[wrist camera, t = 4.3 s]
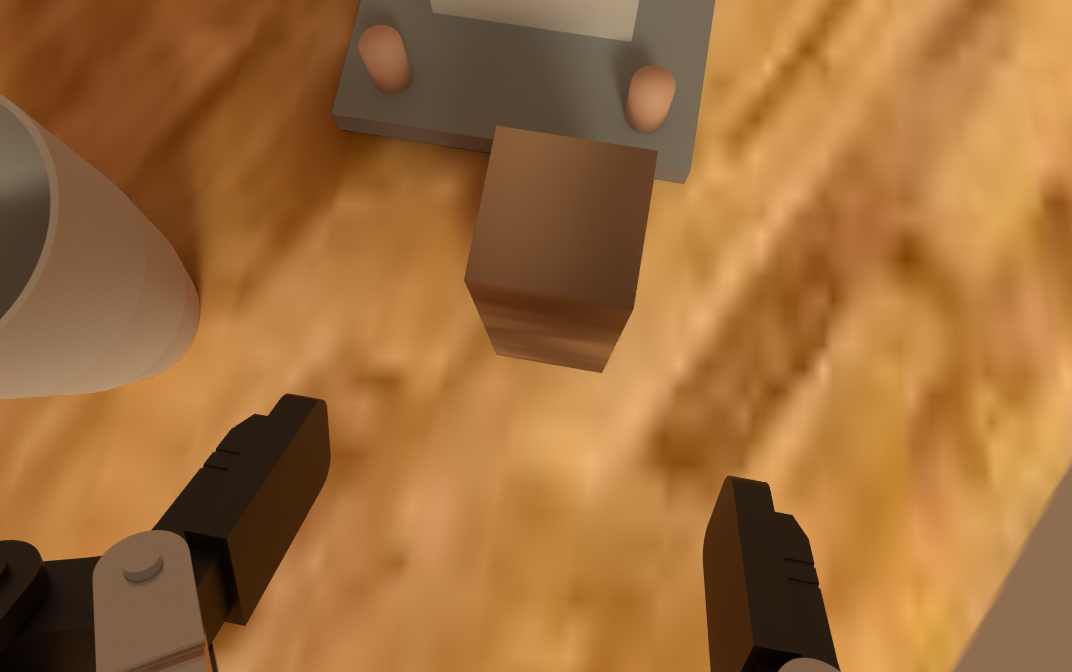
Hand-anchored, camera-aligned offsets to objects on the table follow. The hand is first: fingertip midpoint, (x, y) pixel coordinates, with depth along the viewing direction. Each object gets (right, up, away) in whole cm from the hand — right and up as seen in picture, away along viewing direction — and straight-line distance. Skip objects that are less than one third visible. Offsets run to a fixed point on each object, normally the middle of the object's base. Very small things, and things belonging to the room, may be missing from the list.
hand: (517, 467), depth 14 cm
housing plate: (+1, +18, +16) cm, 24 cm away
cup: (-15, +3, +13) cm, 20 cm away
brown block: (+1, +3, +13) cm, 13 cm away
